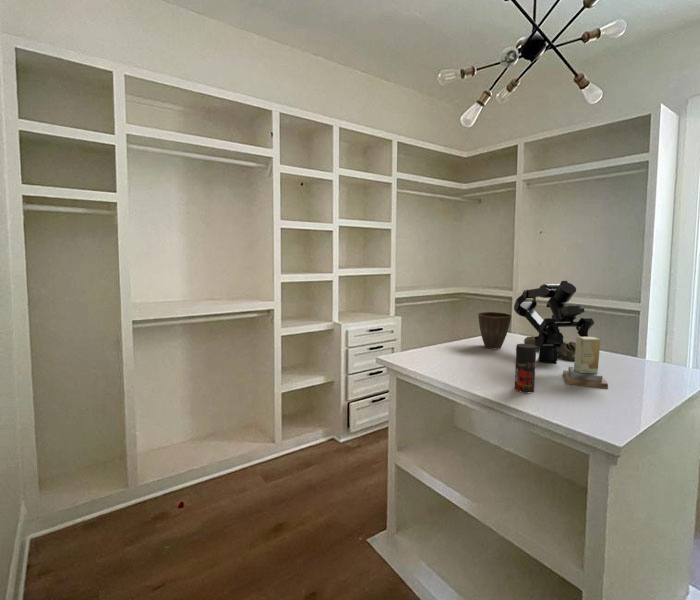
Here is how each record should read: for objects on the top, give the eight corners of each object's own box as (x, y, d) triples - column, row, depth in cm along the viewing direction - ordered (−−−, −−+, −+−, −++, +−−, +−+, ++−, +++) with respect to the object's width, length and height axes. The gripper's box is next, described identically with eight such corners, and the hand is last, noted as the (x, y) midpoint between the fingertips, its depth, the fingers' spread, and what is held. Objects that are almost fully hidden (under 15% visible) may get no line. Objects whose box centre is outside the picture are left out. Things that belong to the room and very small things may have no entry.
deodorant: (510, 388, 132) (512, 344, 131) (523, 386, 135) (525, 343, 133) (524, 394, 127) (526, 348, 125) (538, 391, 129) (540, 346, 128)
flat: (538, 343, 199) (539, 328, 198) (588, 360, 167) (589, 343, 166) (518, 344, 197) (519, 329, 196) (565, 362, 165) (566, 344, 164)
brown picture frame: (567, 383, 137) (567, 374, 136) (563, 374, 148) (563, 365, 147) (607, 388, 132) (608, 378, 132) (600, 377, 143) (601, 368, 143)
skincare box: (580, 373, 137) (583, 339, 135) (573, 370, 141) (575, 336, 140) (598, 373, 137) (601, 338, 136) (590, 369, 141) (593, 336, 140)
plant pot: (513, 346, 192) (515, 313, 190) (504, 352, 180) (505, 317, 178) (483, 342, 201) (484, 311, 199) (472, 347, 189) (473, 314, 188)
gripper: (545, 297, 149) (560, 331, 140) (593, 296, 150) (611, 331, 141) (533, 314, 158) (546, 348, 149) (578, 314, 159) (595, 347, 149)
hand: (574, 343), depth 147 cm, fingers open, 9 cm apart
